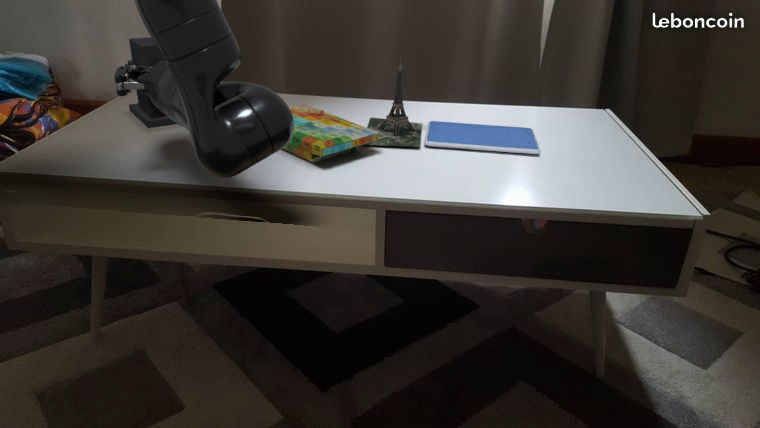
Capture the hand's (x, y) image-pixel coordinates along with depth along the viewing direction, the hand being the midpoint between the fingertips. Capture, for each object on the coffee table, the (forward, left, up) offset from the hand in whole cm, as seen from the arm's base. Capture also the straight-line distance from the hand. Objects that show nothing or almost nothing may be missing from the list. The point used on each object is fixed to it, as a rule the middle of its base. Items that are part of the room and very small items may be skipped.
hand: (147, 66), depth 83 cm
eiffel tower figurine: (+38, -11, -14) cm, 42 cm away
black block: (0, -3, -6) cm, 7 cm away
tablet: (+49, -21, -14) cm, 55 cm away
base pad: (+9, +19, -14) cm, 25 cm away
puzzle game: (+22, -9, -14) cm, 27 cm away
